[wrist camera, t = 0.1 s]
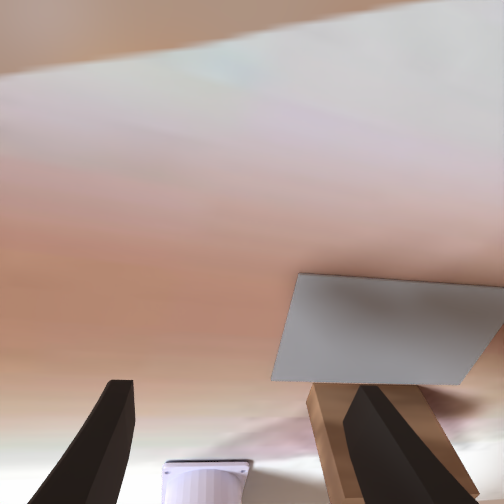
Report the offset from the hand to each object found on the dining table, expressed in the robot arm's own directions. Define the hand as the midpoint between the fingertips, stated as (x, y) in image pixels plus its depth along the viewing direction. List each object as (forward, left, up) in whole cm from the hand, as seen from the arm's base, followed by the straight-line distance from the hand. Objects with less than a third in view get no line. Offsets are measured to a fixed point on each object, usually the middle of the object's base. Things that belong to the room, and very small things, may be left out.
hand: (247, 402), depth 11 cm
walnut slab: (-13, -12, -10) cm, 21 cm away
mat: (-7, -12, -10) cm, 17 cm away
